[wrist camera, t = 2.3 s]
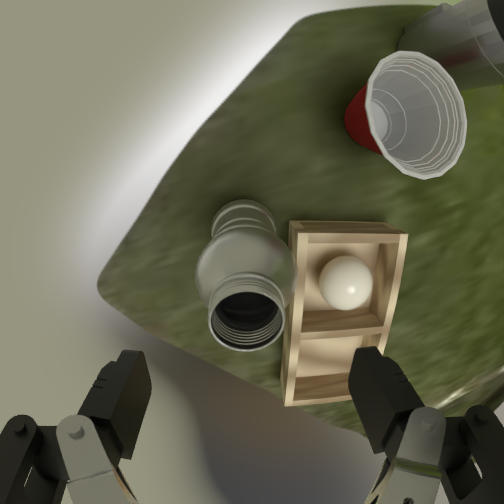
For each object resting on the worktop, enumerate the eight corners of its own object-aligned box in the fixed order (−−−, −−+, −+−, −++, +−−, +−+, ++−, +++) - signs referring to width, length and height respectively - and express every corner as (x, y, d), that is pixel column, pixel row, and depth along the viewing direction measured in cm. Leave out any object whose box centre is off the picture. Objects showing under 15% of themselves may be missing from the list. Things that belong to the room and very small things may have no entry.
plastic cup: (369, 189, 32) (426, 208, 20) (303, 120, 29) (337, 102, 18) (421, 129, 29) (487, 127, 18) (362, 62, 27) (414, 28, 15)
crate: (289, 220, 33) (298, 233, 27) (385, 222, 33) (408, 234, 28) (280, 379, 40) (284, 406, 35) (357, 372, 40) (369, 396, 35)
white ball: (315, 248, 33) (329, 267, 27) (364, 248, 33) (385, 266, 27) (311, 296, 35) (323, 322, 29) (357, 294, 35) (375, 318, 29)
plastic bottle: (208, 201, 32) (159, 269, 13) (270, 191, 32) (312, 246, 13) (218, 256, 34) (193, 378, 15) (277, 247, 34) (319, 362, 15)
